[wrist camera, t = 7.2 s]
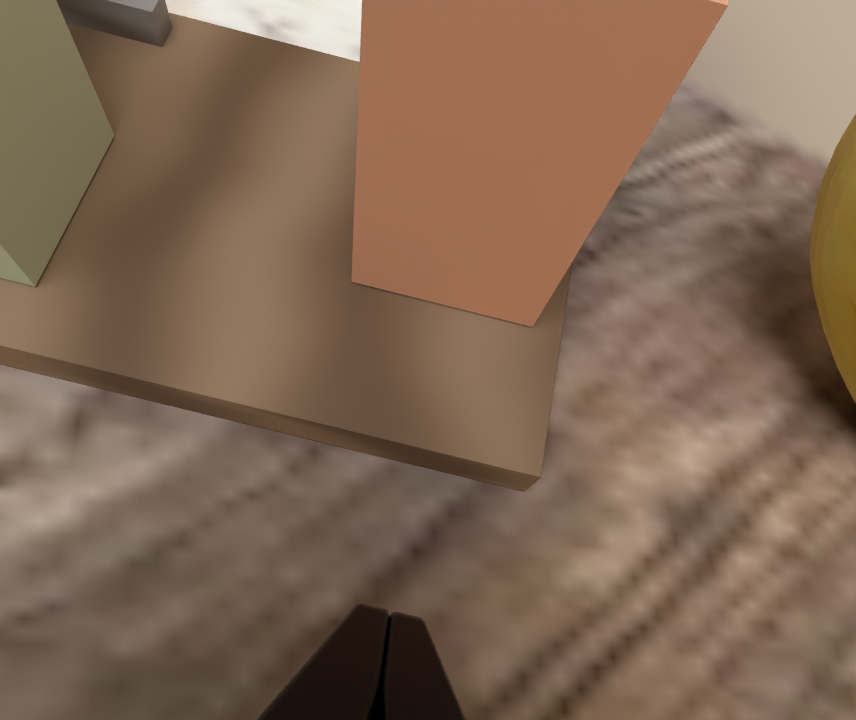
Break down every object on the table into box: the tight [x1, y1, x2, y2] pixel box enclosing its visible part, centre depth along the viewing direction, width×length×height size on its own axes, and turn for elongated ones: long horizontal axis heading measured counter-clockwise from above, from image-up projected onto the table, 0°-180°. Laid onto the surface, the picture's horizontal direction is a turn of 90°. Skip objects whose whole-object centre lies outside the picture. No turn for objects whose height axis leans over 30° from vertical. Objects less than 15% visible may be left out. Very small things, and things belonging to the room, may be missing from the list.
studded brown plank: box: [0, 0, 572, 492], centre depth 23 cm, size 38×14×4 cm, turn 78°
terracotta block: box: [351, 0, 728, 327], centre depth 18 cm, size 6×6×12 cm
